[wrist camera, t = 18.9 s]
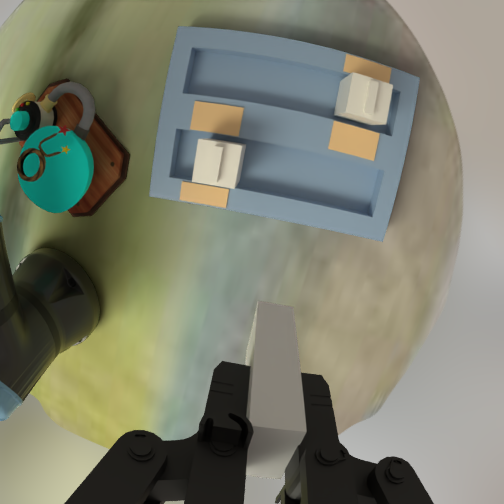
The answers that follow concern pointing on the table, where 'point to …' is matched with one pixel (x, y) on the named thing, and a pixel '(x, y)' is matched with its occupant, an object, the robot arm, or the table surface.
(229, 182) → the tab
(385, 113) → the tab
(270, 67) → the switch bank
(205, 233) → the table surface
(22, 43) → the table surface
